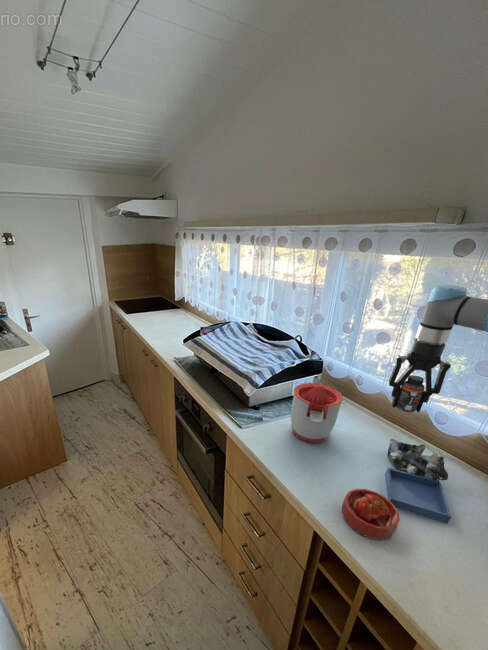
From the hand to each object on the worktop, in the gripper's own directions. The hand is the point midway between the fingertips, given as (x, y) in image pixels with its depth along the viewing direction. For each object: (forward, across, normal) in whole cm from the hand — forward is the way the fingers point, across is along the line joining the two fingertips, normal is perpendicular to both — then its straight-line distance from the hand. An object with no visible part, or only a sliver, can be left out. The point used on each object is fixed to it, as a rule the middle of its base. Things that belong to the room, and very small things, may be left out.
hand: (405, 407), depth 100 cm
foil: (+15, -4, +12) cm, 19 cm away
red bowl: (+15, +8, +39) cm, 42 cm away
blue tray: (+15, -4, +25) cm, 29 cm away
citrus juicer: (+15, +27, +8) cm, 31 cm away
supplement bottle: (+1, 0, 0) cm, 1 cm away
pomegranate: (+14, +8, +39) cm, 42 cm away
